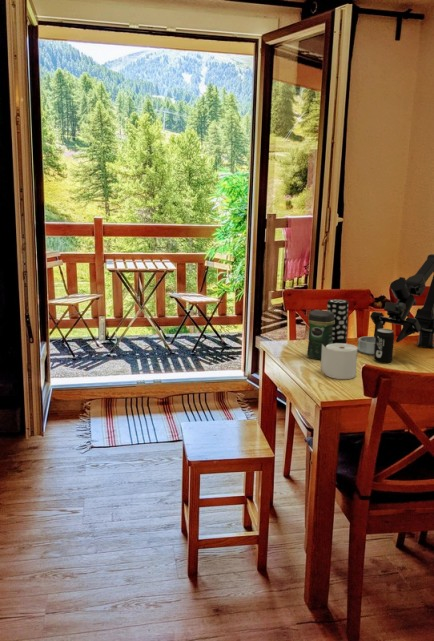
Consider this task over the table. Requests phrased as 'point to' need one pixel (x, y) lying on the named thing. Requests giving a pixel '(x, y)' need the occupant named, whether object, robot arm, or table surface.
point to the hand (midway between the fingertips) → (385, 339)
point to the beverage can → (384, 345)
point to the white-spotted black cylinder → (339, 319)
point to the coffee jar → (319, 332)
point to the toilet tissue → (339, 360)
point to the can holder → (366, 345)
